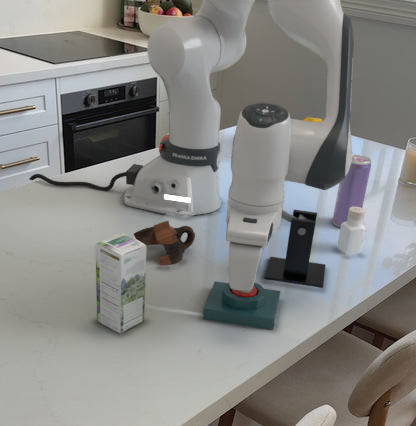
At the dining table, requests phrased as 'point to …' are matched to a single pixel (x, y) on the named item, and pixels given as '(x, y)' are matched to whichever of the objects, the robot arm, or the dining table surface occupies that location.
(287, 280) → the lever stand
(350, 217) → the pepper shaker
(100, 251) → the syrup box
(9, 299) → the dining table surface
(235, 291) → the button
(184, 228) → the brown clay jug
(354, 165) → the beverage can
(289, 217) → the lever handle
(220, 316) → the teal base plate
